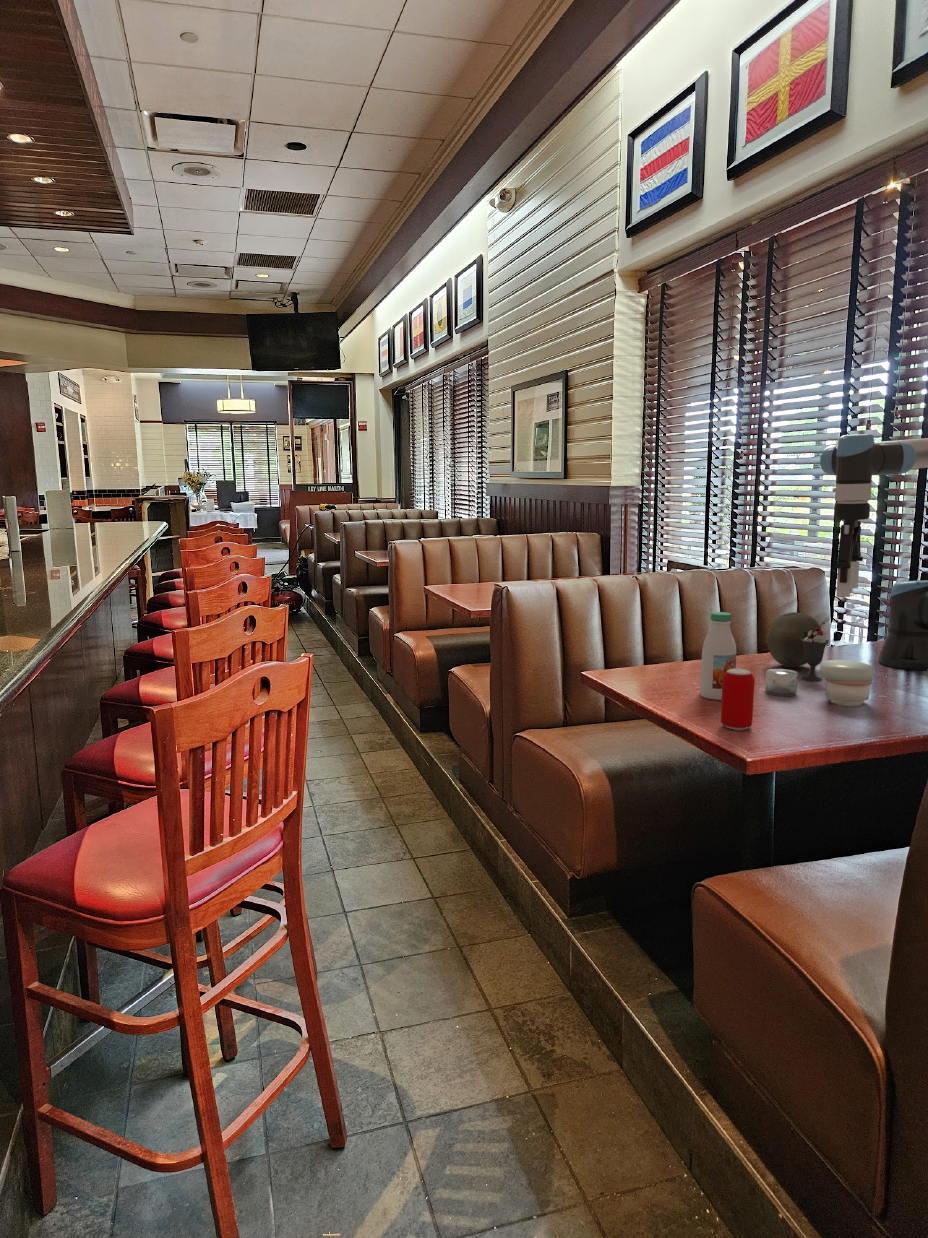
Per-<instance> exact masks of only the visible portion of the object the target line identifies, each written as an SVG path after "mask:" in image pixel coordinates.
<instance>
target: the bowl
mask: <svg viewBox="0 0 928 1238" xmlns="http://www.w3.org/2000/svg"><path fill="white" fill-rule="evenodd" d="M824 679H825V681H826V683H825V684H826V685H825V695H826V696H827V697H828V698H829V702H830V701H831V702H830V703H831V704H834V705H837V704H838V705H839V706H843V707H861V706H864V703H865V702H866V701H868V700H870V689H871V688H870V687H871V685H872V683H873V679H872V680H870V681H865V682H846V681H837V680H831V679H828V678H824Z"/></svg>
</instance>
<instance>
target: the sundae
mask: <svg viewBox="0 0 928 1238" xmlns="http://www.w3.org/2000/svg"><path fill="white" fill-rule="evenodd" d="M825 624H826V622H822V623H821V624H819V625H820V626H819V627H820V628H819V627H817V628H816V629H814V630H811V631H809V632H807V631H804V638H802V639H800V640H801V641H803V647H804V658H805V661H806V662H807V663H806V664H808V666H810V668H809V673H808V674H807V675H804V676H802V677H801V679H802V680H803V681H807V682H814V681H818V682H822V681H823V677H819V676H817V675H816V667H817V666H818V665H819V664H820V663H821V662H823V658H824V655H825V649H826V645H827V644H829V643H830V641H829V639H827V638H826V636H825V635H824V631H823V630H822V627H823V626H824V625H825Z"/></svg>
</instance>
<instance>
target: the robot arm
mask: <svg viewBox="0 0 928 1238" xmlns="http://www.w3.org/2000/svg"><path fill="white" fill-rule="evenodd" d="M819 458H820V460H819V461H820V462H819V463H820V464H819V465H820V469H821V470H822V471H823V473H824V474H826V475H830V476H835V487H833V489H832V492H833V493H835V494H834V500H835V502H837V503H835V504H834V505H833V518H834V519H835V520H839V521H841V520H842V521H843V524H841V525H840V529H839V531H840V536H839V537H840V538H839V545H838V552H837V560H836V563H835V564H834V567H833V568H834V569H837V579H836V581H837V582H836V597H842V598H843V597H845V598H850V596H851V589H859V575H860V562H863V559H864V556H862V554H861V552H862V551H861V550H862V549H861V547H862V546H861V533H862V527H861V525H862V522H861V520H863V521H864V520H868V519H869V518H870V513H871V511H870V510H871V504H870V503H869V501H871V499H872V486H873V485H872V481H873V480H872V479H873V476H888V475H892V476H898V475H901V474H902V475H903V474H906V473H909V472H910V470H912V469H913V470H914V469H926V468H928V437H925V438H913V439H912V438H911V439H899V440H886V441H875V436H874V435H873V434H871V433H865V434H863V433H861V434H860V433H859V434H844V435H841V436H840V437H839V438H838V441H837V444H833V445H829V446H827V447H825V448H824V449H823V451H822V452H821V455H820V457H819ZM889 599H890V600H889V614H888V623H887V624H888V626H887V635H886V637H885V639H884V642H883V645H882V648H881V650H880V651H879V652H878V659H877V660H878V661H877V662H879V664H881V663H882V664H881V665H885V666H888V667H891V668H896V669H905V670H915V671H928V580H925V579H924V580H923V579H922V580H904V581H897V582H895V583H893V585H892V587H891V593H890V595H889Z"/></svg>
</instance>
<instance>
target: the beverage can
mask: <svg viewBox="0 0 928 1238" xmlns="http://www.w3.org/2000/svg"><path fill="white" fill-rule="evenodd" d="M755 681H756V680H755V677H754V676H753V672H752V671H750V670H748V669H743V668H736V669H729V670H727V671H726V673H725V674H724V676H723V682H722V700H721V707H720V723H721V725H722V726H724V727H725V728H727V729H728V728H730V729H729V730H731V729H733V731H746V730H747V729H749V728H751V727H752V725H753V715H754V713H753V712H754V695H755ZM746 727H747V728H746Z"/></svg>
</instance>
